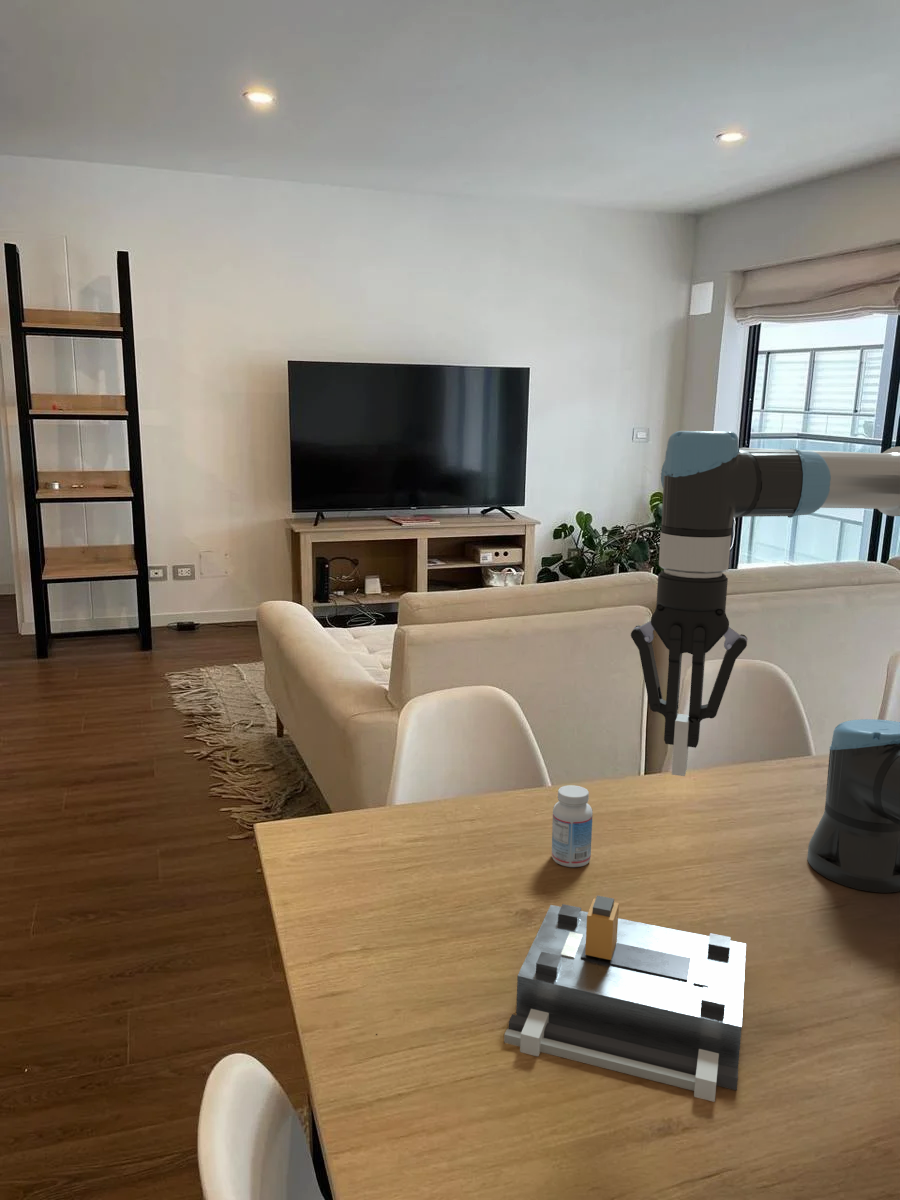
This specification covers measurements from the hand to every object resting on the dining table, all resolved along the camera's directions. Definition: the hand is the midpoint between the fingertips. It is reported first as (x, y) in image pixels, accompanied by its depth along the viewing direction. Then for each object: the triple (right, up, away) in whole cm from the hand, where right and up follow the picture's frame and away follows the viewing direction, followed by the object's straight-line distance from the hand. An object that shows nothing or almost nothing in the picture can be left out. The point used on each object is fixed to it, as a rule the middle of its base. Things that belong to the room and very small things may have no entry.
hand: (679, 771), depth 103 cm
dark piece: (-5, -27, +1) cm, 27 cm away
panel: (-5, -27, +1) cm, 27 cm away
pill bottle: (-8, -20, +34) cm, 40 cm away
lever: (-9, -21, +1) cm, 23 cm away
